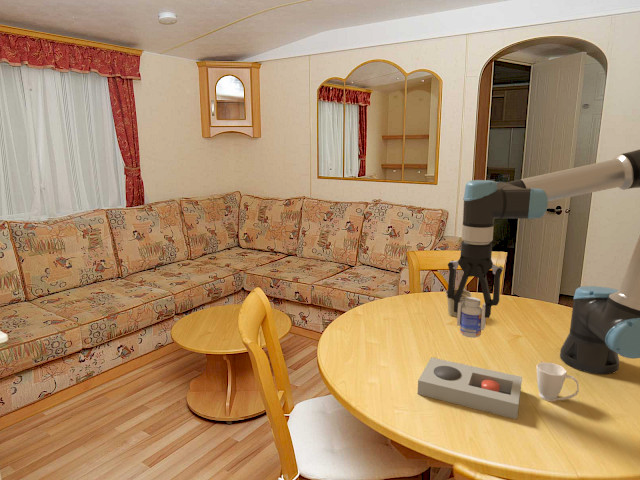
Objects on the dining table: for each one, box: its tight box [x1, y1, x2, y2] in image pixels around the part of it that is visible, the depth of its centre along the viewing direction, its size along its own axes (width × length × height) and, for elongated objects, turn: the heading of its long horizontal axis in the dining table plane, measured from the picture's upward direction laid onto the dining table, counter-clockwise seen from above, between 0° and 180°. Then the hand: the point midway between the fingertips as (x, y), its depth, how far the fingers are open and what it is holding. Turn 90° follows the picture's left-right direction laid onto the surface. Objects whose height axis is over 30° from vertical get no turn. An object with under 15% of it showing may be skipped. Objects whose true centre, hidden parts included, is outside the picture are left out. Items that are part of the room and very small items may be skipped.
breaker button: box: [481, 380, 500, 392], centre depth 116 cm, size 4×4×2 cm
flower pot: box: [444, 288, 472, 318], centre depth 169 cm, size 9×9×9 cm
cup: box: [535, 361, 579, 402], centre depth 115 cm, size 7×10×8 cm
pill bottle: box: [459, 296, 482, 339], centre depth 120 cm, size 5×5×10 cm
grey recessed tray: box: [417, 356, 523, 420], centre depth 118 cm, size 24×14×4 cm, turn 63°
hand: (471, 325), depth 120 cm, fingers closed on pill bottle, 5 cm apart
